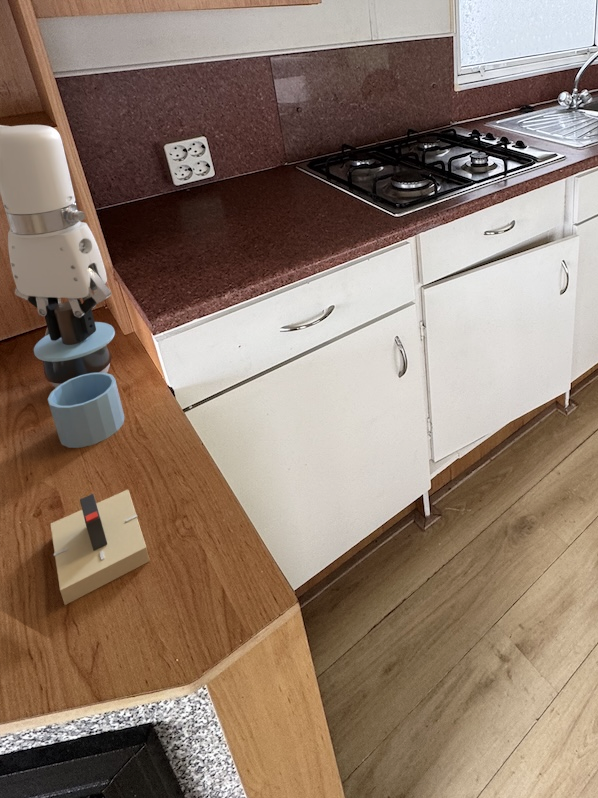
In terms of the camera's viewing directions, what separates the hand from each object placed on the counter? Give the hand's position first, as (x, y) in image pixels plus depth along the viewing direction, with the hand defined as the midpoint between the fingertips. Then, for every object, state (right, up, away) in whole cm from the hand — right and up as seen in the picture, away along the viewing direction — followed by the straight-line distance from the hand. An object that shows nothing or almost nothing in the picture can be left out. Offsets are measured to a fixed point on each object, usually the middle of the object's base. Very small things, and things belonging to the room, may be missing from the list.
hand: (73, 334), depth 84 cm
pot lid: (0, -1, 0) cm, 1 cm away
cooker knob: (+9, -24, -8) cm, 27 cm away
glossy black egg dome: (-17, -15, +25) cm, 34 cm away
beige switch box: (+9, -27, -7) cm, 30 cm away
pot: (-7, -19, +14) cm, 25 cm away
